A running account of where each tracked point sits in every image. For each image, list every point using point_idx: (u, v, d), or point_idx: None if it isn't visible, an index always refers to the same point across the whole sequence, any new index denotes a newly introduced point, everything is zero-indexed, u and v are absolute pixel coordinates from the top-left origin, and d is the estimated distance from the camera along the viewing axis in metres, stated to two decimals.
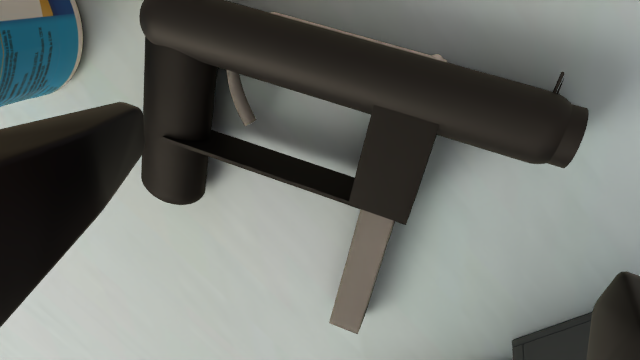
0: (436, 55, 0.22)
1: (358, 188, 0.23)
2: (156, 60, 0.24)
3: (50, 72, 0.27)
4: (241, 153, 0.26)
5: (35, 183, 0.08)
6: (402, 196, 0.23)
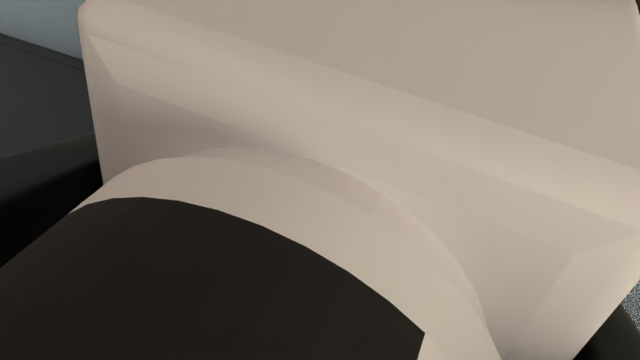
0: None
1: None
2: None
3: None
4: None
5: (80, 200, 0.08)
6: None
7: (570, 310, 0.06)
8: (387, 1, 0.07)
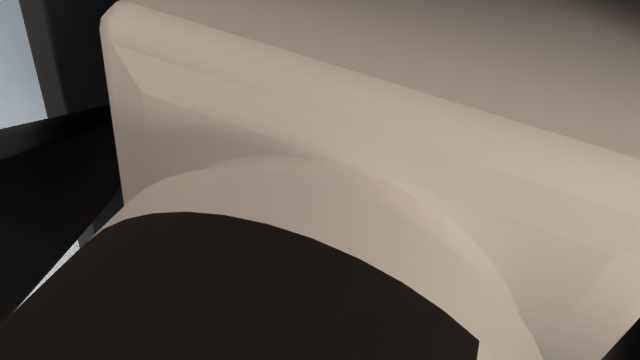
0: None
1: None
2: None
3: None
4: None
5: (35, 183, 0.08)
6: None
7: (606, 309, 0.06)
8: (407, 3, 0.07)
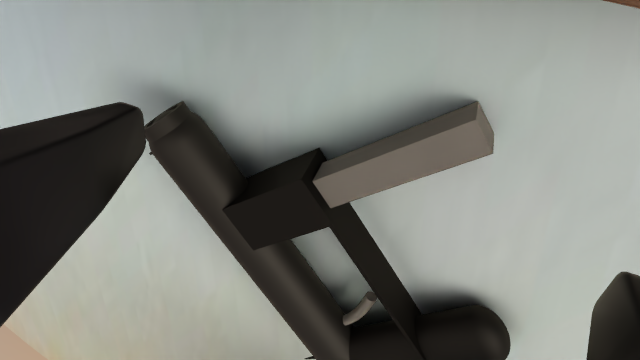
0: None
1: (312, 226, 0.24)
2: None
3: None
4: None
5: (35, 183, 0.08)
6: (284, 196, 0.24)
7: None
8: None
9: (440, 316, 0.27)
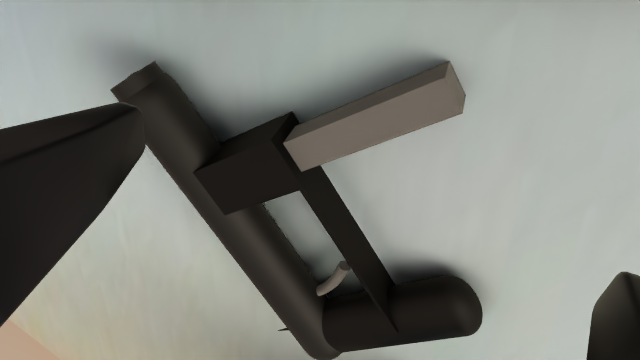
0: None
1: (282, 190, 0.24)
2: (344, 346, 0.30)
3: None
4: None
5: (35, 183, 0.08)
6: (254, 158, 0.24)
7: None
8: None
9: (412, 286, 0.27)
